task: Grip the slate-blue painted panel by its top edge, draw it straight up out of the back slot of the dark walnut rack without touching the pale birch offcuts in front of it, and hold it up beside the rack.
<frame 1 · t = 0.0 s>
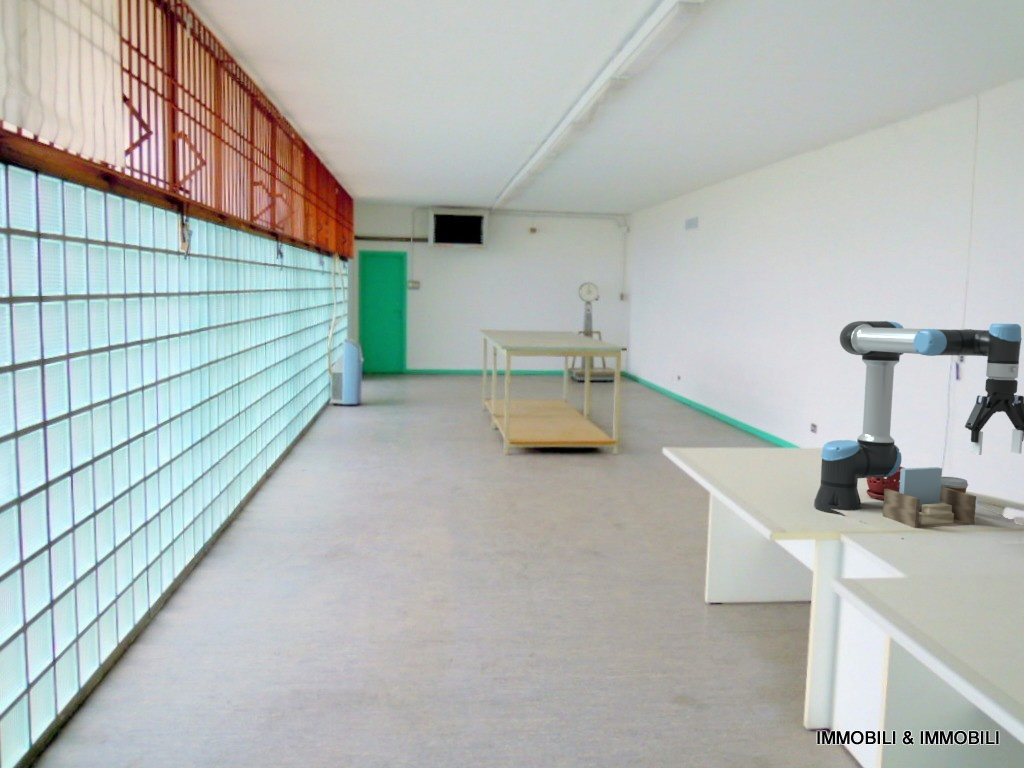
hand: (996, 453, 214), 28 cm above the table, tool pointing down, fingers open, 13 cm apart
plant pot: (884, 498, 278), on the table
rack: (927, 524, 242), on the table
panel: (918, 516, 246), point 1 cm above the table, touching rack
offcut stack: (933, 522, 240), point 1 cm above the table, touching rack
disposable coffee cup: (949, 514, 256), on the table
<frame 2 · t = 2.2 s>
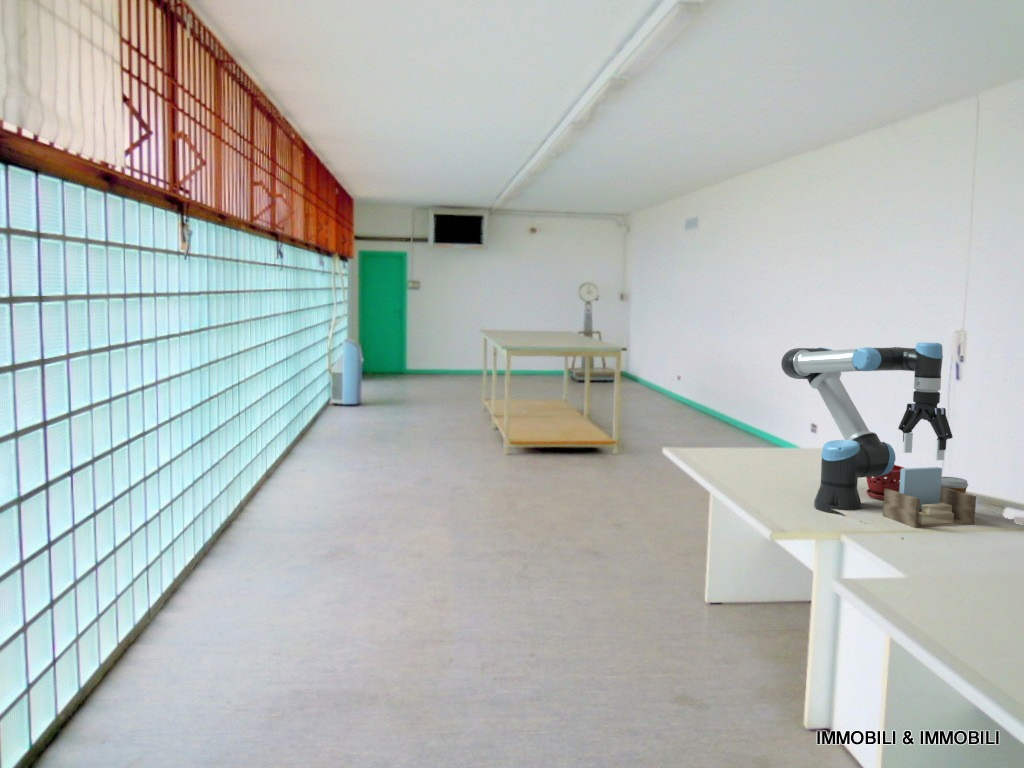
hand: (922, 456, 244), 22 cm above the table, tool pointing down, fingers open, 13 cm apart
nothing on the table moved.
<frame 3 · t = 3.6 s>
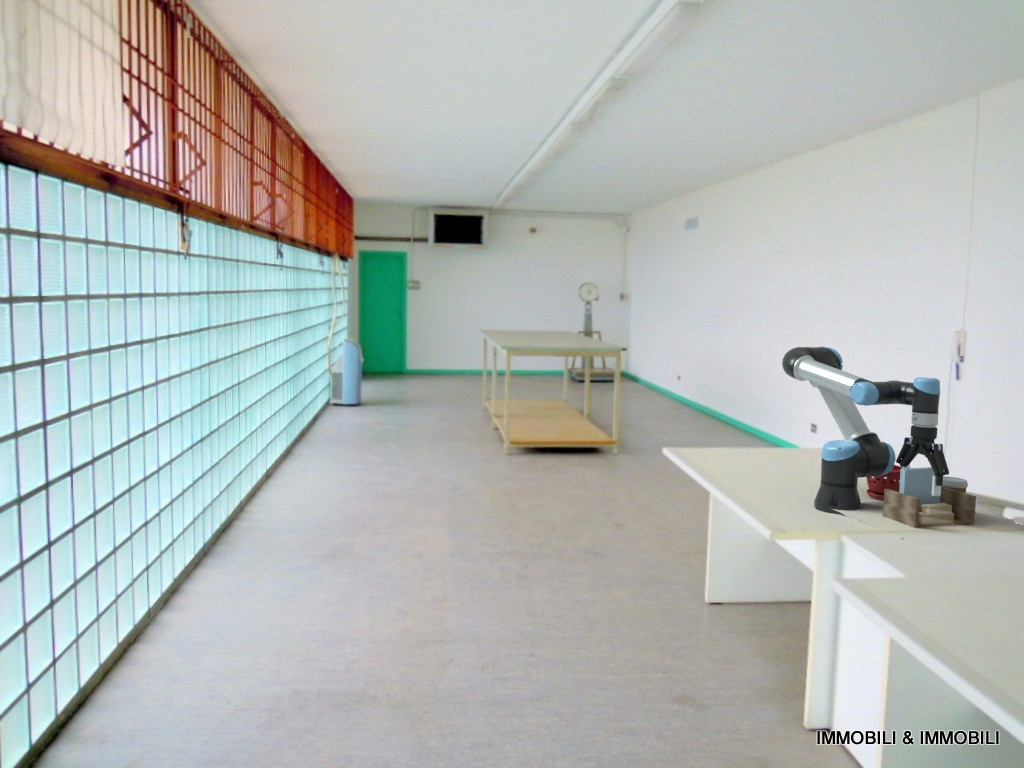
hand: (920, 490, 245), 10 cm above the table, tool pointing down, fingers open, 13 cm apart
nothing on the table moved.
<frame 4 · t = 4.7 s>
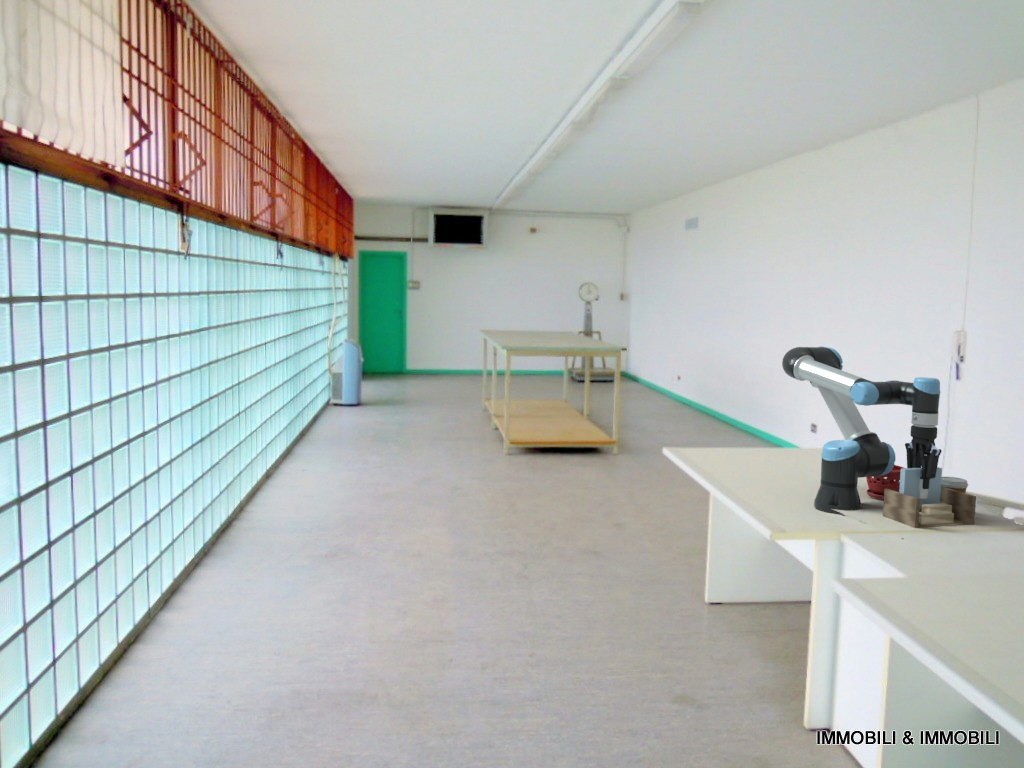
hand: (919, 497, 245), 8 cm above the table, tool pointing down, fingers closed on panel, 2 cm apart
panel: (918, 516, 246), point 1 cm above the table, touching gripper, rack
everything else where it was.
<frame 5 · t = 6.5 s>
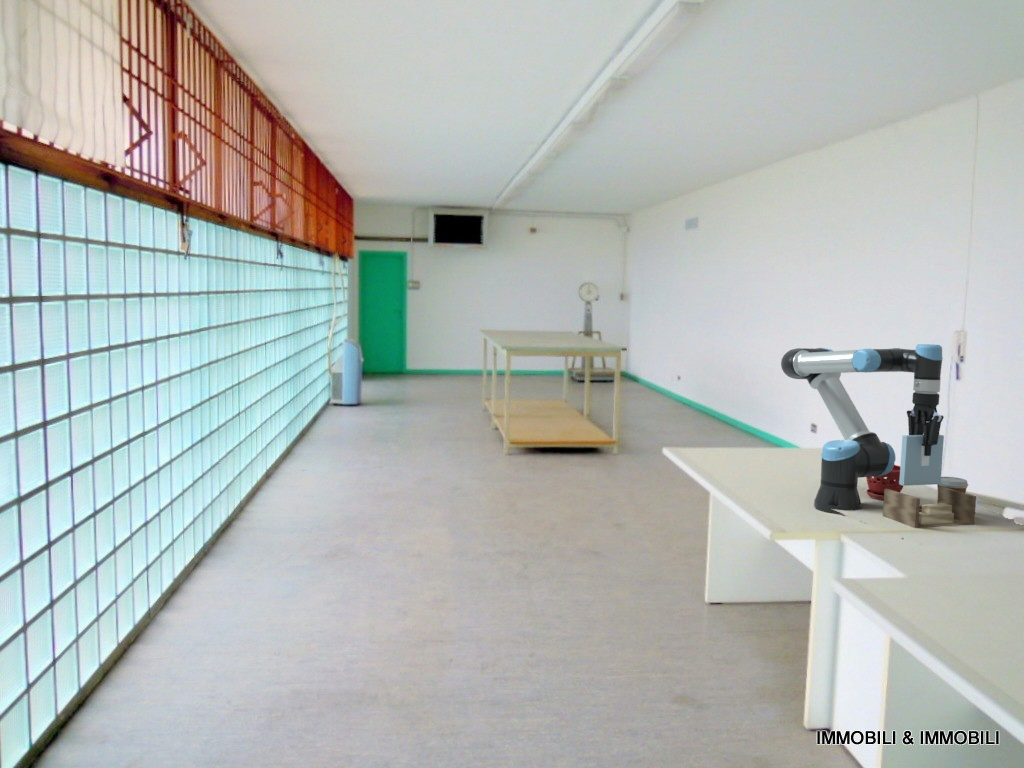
hand: (921, 464, 245), 19 cm above the table, tool pointing down, fingers closed on panel, 2 cm apart
panel: (919, 484, 245), point 12 cm above the table, touching gripper
everything else where it was.
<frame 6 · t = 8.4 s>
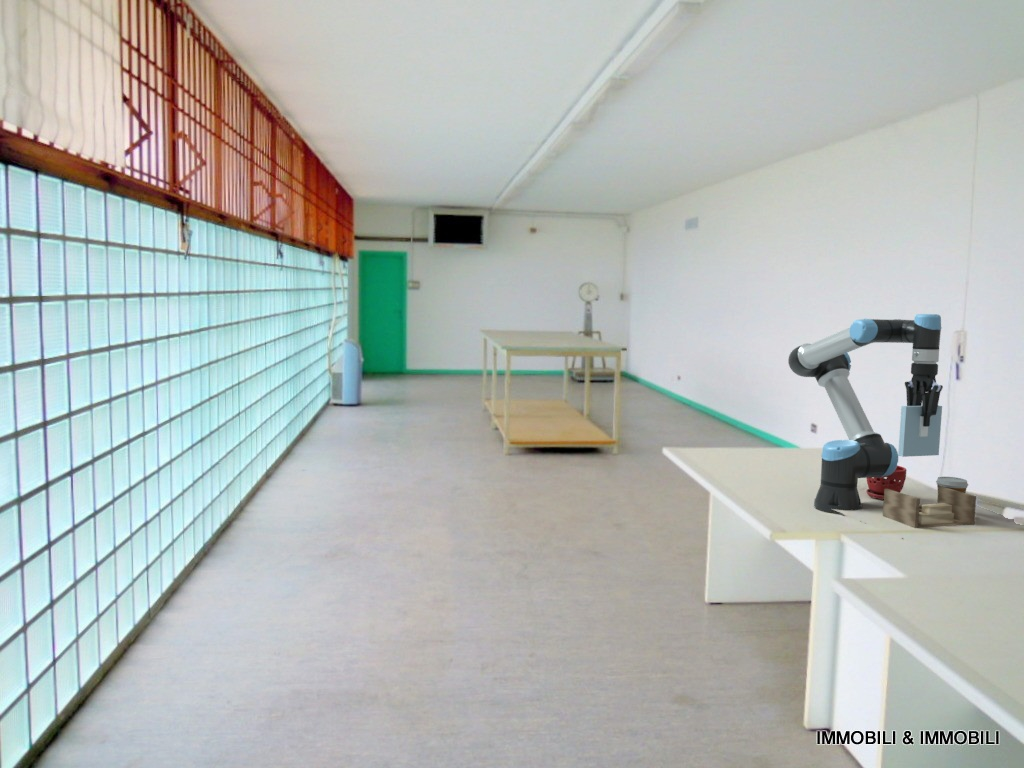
hand: (919, 435, 243), 28 cm above the table, tool pointing down, fingers closed on panel, 2 cm apart
panel: (918, 455, 243), point 22 cm above the table, touching gripper
everything else where it was.
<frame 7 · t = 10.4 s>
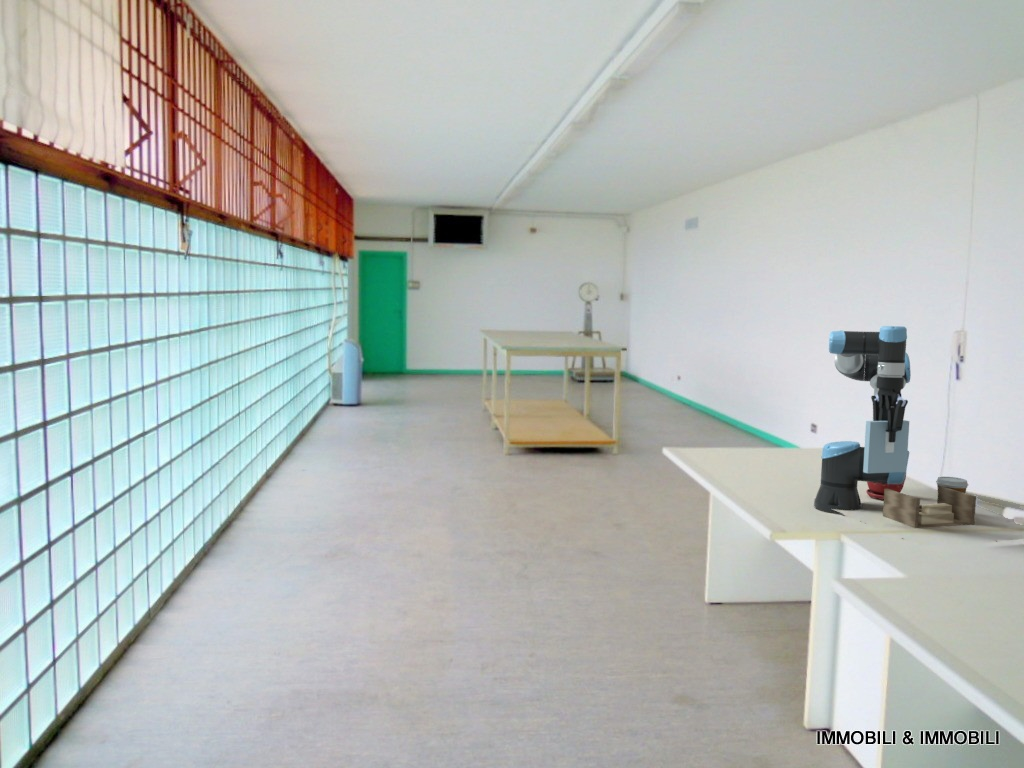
hand: (885, 451, 235), 24 cm above the table, tool pointing down, fingers closed on panel, 2 cm apart
panel: (884, 471, 235), point 18 cm above the table, touching gripper
everything else where it was.
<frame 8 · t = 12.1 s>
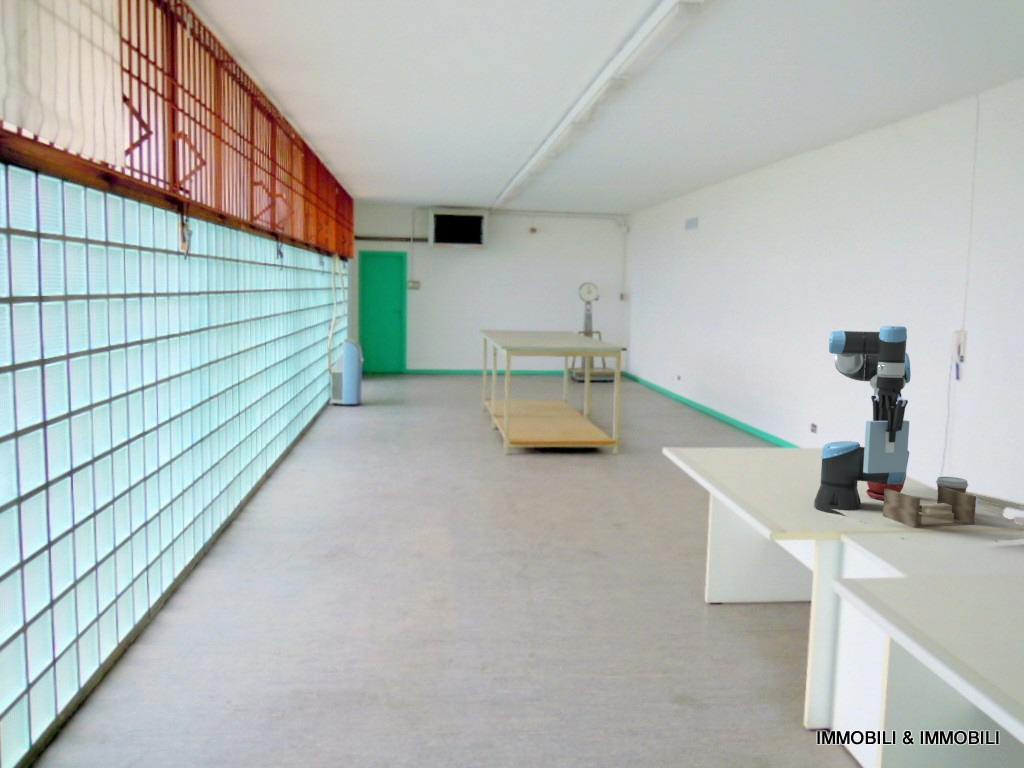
hand: (885, 451, 235), 24 cm above the table, tool pointing down, fingers closed on panel, 2 cm apart
panel: (884, 471, 235), point 18 cm above the table, touching gripper
everything else where it was.
at the end: the gripper is holding panel; panel inside the target area (1.0 cm from its centre), point 18.0 cm above the table; offcut stack moved 0.0 cm from its start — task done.
